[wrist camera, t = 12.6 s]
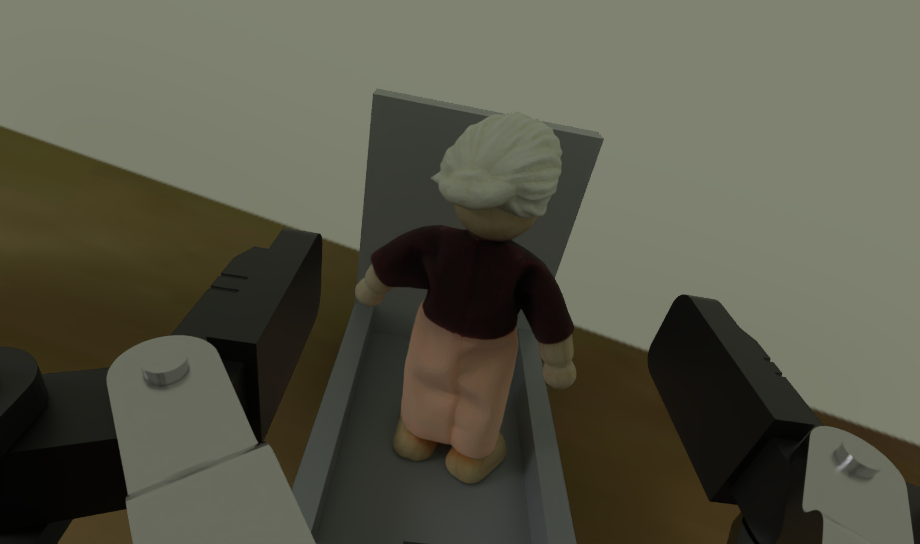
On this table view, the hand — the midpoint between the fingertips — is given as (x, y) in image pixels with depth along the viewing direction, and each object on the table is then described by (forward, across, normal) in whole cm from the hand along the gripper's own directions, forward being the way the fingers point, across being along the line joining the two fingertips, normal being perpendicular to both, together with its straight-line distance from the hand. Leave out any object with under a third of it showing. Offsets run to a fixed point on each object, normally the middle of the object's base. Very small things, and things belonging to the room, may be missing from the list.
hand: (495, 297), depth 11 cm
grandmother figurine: (+4, 0, +10) cm, 10 cm away
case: (+4, 0, +10) cm, 11 cm away
